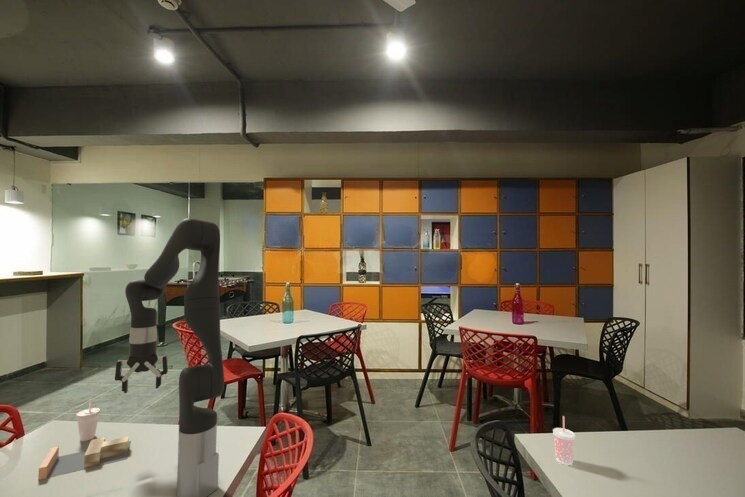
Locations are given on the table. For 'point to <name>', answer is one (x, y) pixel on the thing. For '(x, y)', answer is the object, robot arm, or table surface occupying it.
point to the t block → (104, 449)
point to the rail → (48, 463)
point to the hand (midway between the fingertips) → (141, 390)
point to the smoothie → (87, 422)
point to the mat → (80, 462)
